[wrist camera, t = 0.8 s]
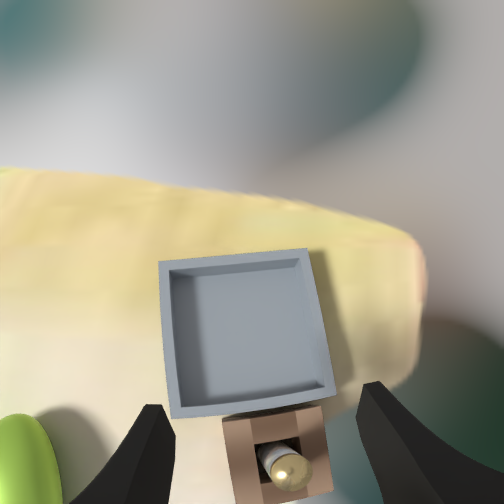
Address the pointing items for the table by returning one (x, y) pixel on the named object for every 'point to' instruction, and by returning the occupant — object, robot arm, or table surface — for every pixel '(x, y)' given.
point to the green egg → (27, 463)
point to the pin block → (272, 429)
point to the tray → (242, 333)
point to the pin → (285, 466)
